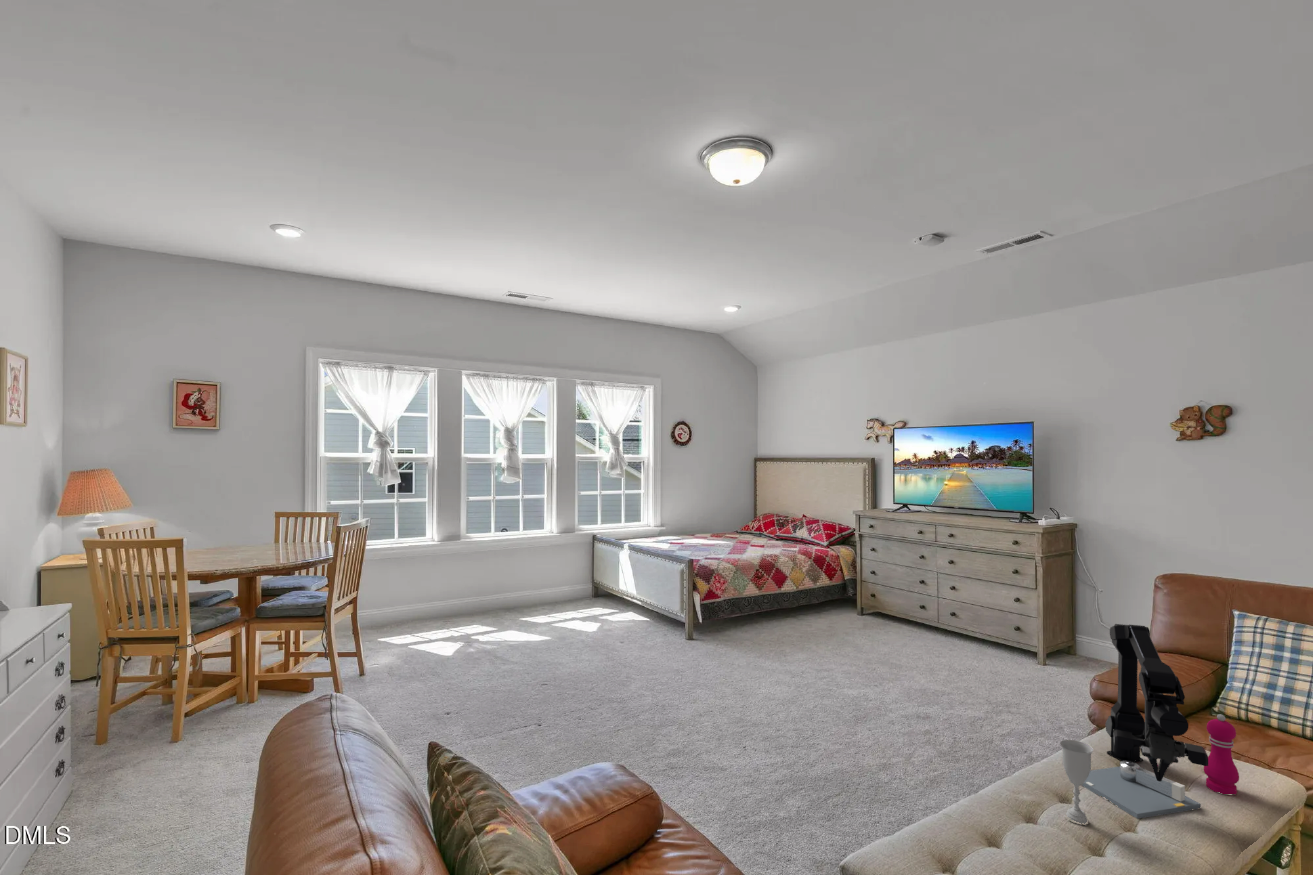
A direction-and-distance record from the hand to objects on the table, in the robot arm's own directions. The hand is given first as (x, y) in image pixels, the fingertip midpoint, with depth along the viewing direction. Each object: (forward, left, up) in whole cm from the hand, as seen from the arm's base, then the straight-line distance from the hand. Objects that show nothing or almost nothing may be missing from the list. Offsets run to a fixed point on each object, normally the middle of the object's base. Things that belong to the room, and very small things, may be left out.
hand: (1158, 780), depth 166 cm
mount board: (-7, 0, -7) cm, 10 cm away
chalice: (0, -25, -7) cm, 26 cm away
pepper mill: (-3, +25, -7) cm, 26 cm away
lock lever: (-6, +5, -5) cm, 9 cm away
